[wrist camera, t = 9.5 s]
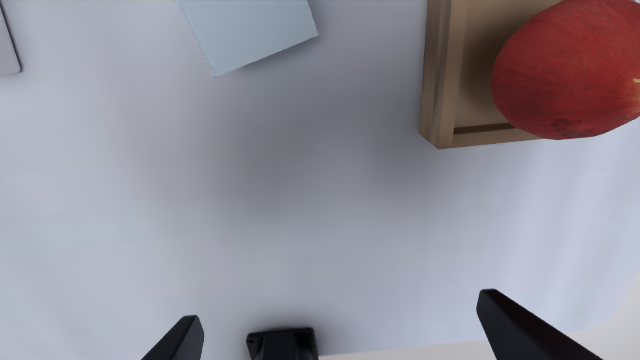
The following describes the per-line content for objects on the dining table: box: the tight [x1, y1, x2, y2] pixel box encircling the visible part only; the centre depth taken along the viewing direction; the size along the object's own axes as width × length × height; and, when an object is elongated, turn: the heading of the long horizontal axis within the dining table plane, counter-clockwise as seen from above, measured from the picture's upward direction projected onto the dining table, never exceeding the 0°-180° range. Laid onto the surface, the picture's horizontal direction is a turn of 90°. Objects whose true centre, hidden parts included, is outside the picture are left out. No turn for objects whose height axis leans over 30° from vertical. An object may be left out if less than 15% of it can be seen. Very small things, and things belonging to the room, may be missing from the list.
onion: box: [491, 0, 640, 140], centre depth 13 cm, size 6×6×8 cm
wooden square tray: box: [419, 0, 635, 149], centre depth 17 cm, size 9×9×4 cm
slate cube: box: [176, 0, 319, 78], centre depth 14 cm, size 5×5×5 cm
